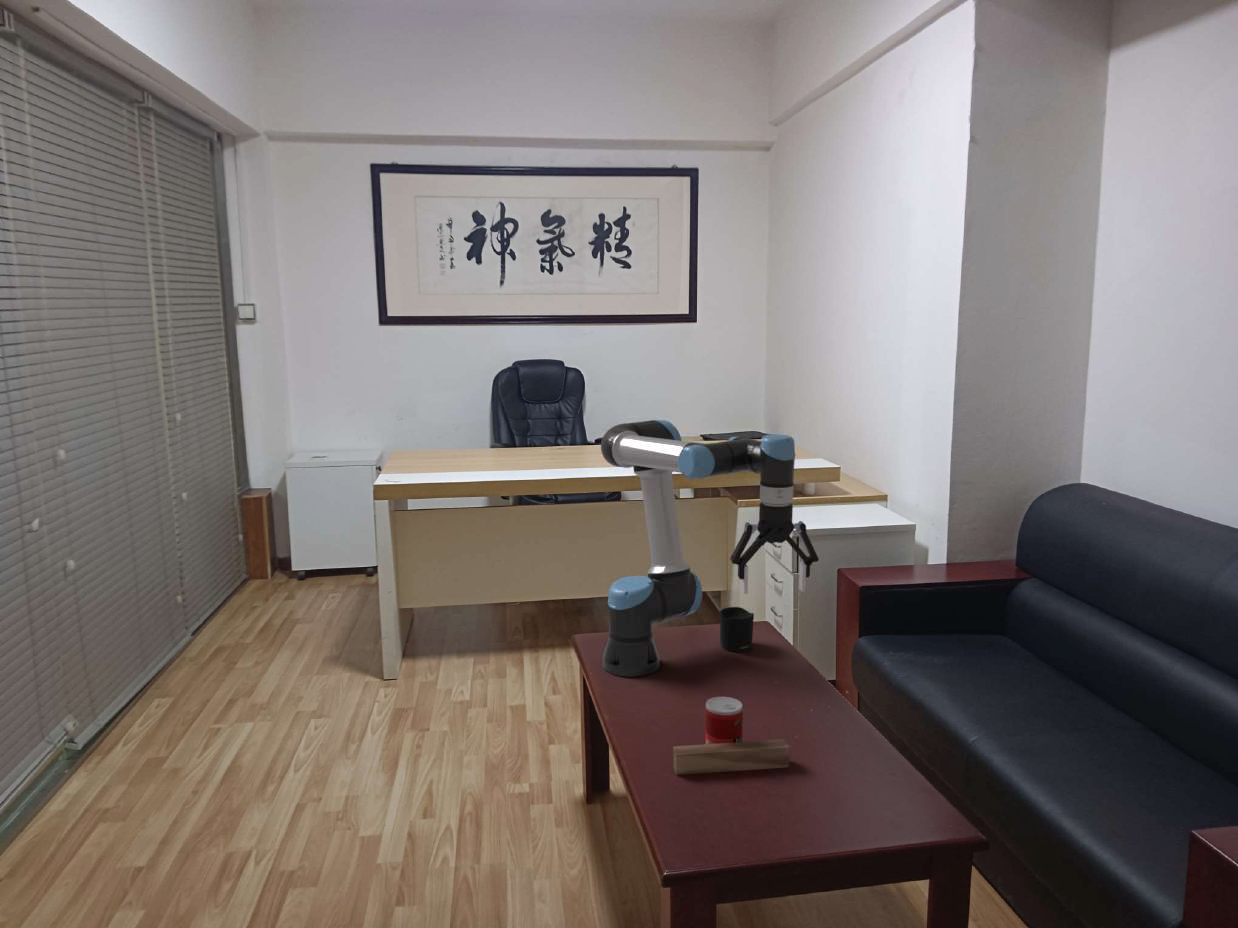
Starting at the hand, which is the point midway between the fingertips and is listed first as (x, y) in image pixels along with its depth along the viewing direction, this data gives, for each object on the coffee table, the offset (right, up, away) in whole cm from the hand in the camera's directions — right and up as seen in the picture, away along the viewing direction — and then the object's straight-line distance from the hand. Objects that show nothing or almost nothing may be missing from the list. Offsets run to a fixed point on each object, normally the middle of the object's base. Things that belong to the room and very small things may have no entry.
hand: (773, 591), depth 208 cm
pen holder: (-3, -22, +43) cm, 48 cm away
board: (-13, -34, -21) cm, 42 cm away
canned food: (-13, -33, -14) cm, 38 cm away
